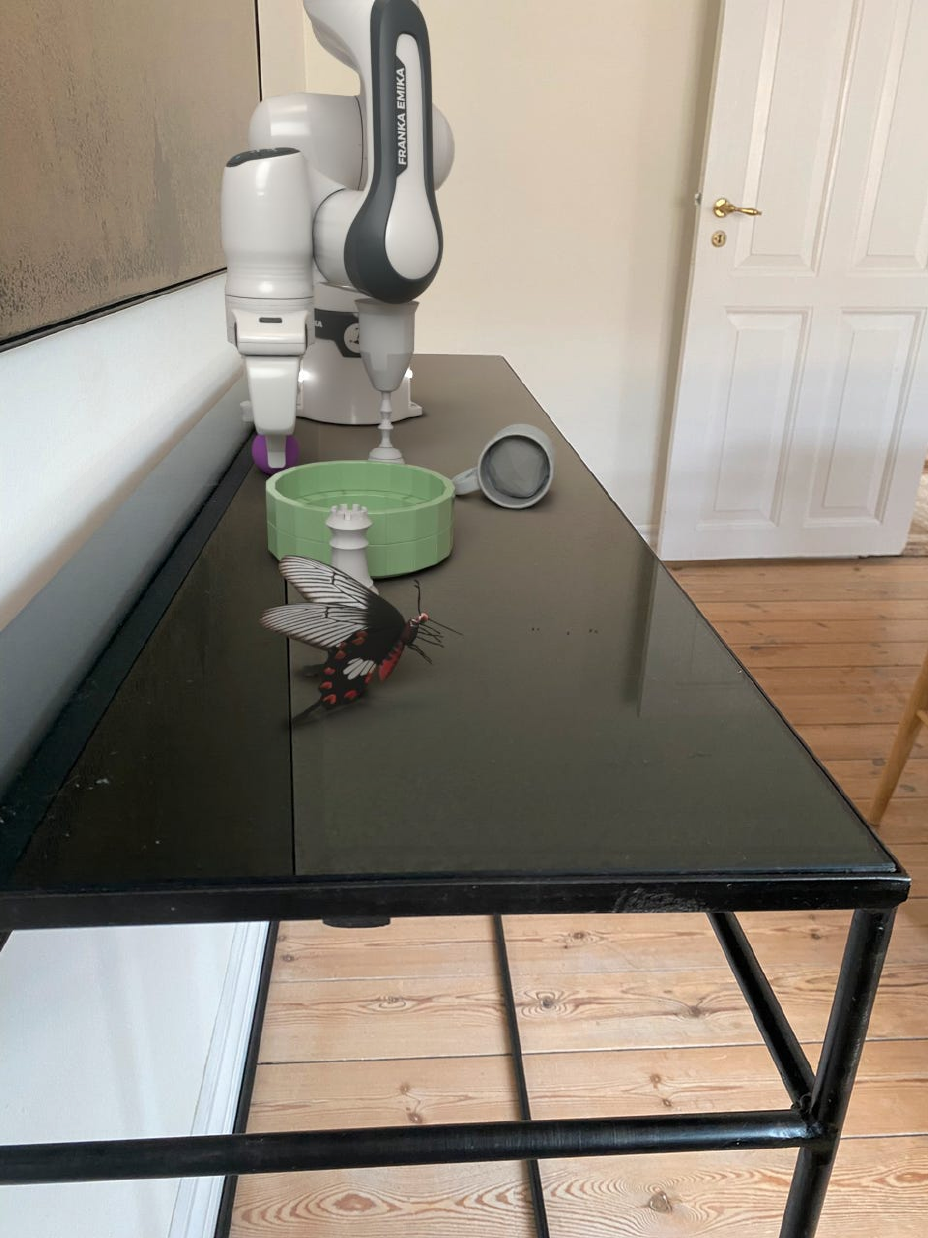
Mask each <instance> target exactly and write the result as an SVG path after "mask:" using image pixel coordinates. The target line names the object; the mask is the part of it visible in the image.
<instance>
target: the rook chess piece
mask: <svg viewBox="0 0 928 1238" xmlns="http://www.w3.org/2000/svg"><path fill="white" fill-rule="evenodd" d="M325 523H326V525H327V526H328V527H329V529H330V530H331V531H332V539H331V540H330V541H329V544H330V545H331V546H332V562H331V566H333V567H335V568H337V569H339V570H341V571H343V572H344V573H346V574H347V575H349V576H350V577H352V578H353V579H355V580H357V581H358V582H360V583H361V584H363V585H364V586H366V587H367V588H369V589H370V590H372V591H373V592H375V593H376V594H377V595H379V596H380V593H379V590H378V589H377V588H376V586H375V585H374V581H373V579H371V578H370V575H369V572H368V565H367V558H366V547H367V546H368V544H369V541H368V540H367V539H366V535H365V534H366V531H367V530H368V529H369V527H370V526H371V525H372V521H371V519H370V518H369V517H368V516H367V508H366V507H361V511H360V505H358V504H353V510H347V504H340V511H338V506H333V507H331V515H330V516H329V517H328V519H327V520H326V522H325Z"/></svg>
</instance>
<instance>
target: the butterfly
mask: <svg viewBox="0 0 928 1238" xmlns="http://www.w3.org/2000/svg"><path fill="white" fill-rule="evenodd" d="M278 569H279V572H280V574H281V575H282V577H283V578H284V579H285V580H286V581H287V582H288V583H289V584H290V585H291V586H292V587H293V588H294V589H295V591H296V592H297V593H298V594H299V595H300V596H301V597H302V598H303V599H304V600H305V601H301V602H291V603H286V604H280V605H276V606H272V607H268V608H266V609H265V610H263V612H262V613H261V615H260V616H259V620H258V622H259V623H260V626H262V627H263V628H265V629H266V630H269V631H272V632H274V633H277V634H280V635H282V636H284V637H286V638H288V639H291V640H293V641H296V642H299V643H301V644H304V645H307V646H309V647H312V648H314V649H318V650H322V651H324V652H327V658H326V660H325V661H324V663H318V664H314V665H313V664H312V665H304V666H303V667H302V674H304V676H305V677H314V676H315V675H317V674H319V676H320V680H321V683H320V685H319V686H318V687H317V690H318V692H319V693H320V694H321V695H320V698H319V699H318V700H317V701H316V702H315V703H313V704H312V705H310V706H309V707H307V708H306V709H304V710H303V711H302V712H301V713H298V714H296V715H295V716H294V717H293V718H291V721H290V724H291V725H292V724H293V725H294V724H297V723H299V722H301V721H302V720H305V719H306V717H308V716H309V714H310V713H312V712H313V711H315V710H317V709H319V708H323V709H325V710H327V711H328V710H331V709H333V708H335V707H337V706H339V705H342V704H343V705H349V704H352V703H354V702H355V701H357V700H359V698H360V695H362V692H363V690H364V689H365V688H366V686H367V685H368V683H369V681H370V680H371V678H372V676H373V674H374V672H375V671H376V670H377V669H378V675H379V680H380V682H384V681H385V680H386V679H387V678H388V677H389V676H390V675H391V674H392V673H393V671H394V670H395V668H396V666H397V665H398V662H400V660H401V657H402V655H403V652H404V650H405V647H407V649H409V650H412V651H416V652H417V653H418V654H419V655H420V656H422V658H423V659H425V660H426V661H427V662H428V663H429V664H430V665H431V666H433V660H431V658H430V657H429V656H427V655H426V653H425V652H424V651H423V650H422V649H421V648H420V647H419V646H418V645H416V644H414V642H415V640H416V639H419V640H421V641H424V642H426V643H428V644H431V645H434V646H439V647H440V648H445V647H444V645H442V640H440V639H439V638H443V639H444V636H443V635H441V634H442V633H441V632H440V631H438V630H436V629H435V628H433V627H431V626H429V625H427V624H426V622H427V621H429V622H432V623H434V624H436V625H438V626H440V627H443V628H445V629H447V630H449V631H452V633H453V632H454V633H456V634H458V635H460V636H464V634H462V633H460V632H459V631H456V630H454V629H452V628H450V627H449V626H445V625H443V624H441V623H440V622H437V621H435V620H433V619H431V618H430V617H428V615H427V613H422V611H421V607H420V606H421V588H420V582H419V580H417V579H413V582H415V583H416V584H414V585H413V586H414V588H416V589H417V590H418V594H417V612H418V615H417V616H414V617H411V618H409V619H408V620H407V621H406V619H405V618H404V616H403V615H402V614H401V612H400V611H399V610H398V609H397V607H395V606H394V605H392V604H391V602H390V601H388V600H386V599H385V598H383V597H382V596H380V594H379V595H377V594H376V593H375V592H373V591H372V590H370V589H369V588H367V587H366V586H364V585H363V584H361V583H360V582H358V581H357V580H355V579H353V578H352V577H350V576H349V575H347V574H346V573H344V572H343V571H341V570H339V569H337V568H335V567H333V566H331V565H329V564H326V563H323V562H321V561H318V560H315V559H311V558H308V557H302V556H295V555H286V556H284V557H282V559H281V561H280V560H279V562H278ZM421 626H423V627H426V628H428V629H430V630H433V631H434V632H435V633H437V634H434V633H431V632H430V631H428V630H427V629H426V628H423V627H421ZM419 629H420V630H422V631H420V630H419ZM418 634H421V635H425V636H430V637H433V638H434V639H435V640H436V641H437V642H438V643H436V642H433V641H431V640H427V639H426V638H424V637H421V636H419V635H418ZM437 637H439V638H437Z"/></svg>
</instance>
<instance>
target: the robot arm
mask: <svg viewBox="0 0 928 1238" xmlns="http://www.w3.org/2000/svg"><path fill="white" fill-rule="evenodd" d="M302 6H303V10H304V11H305V13H306V15H307V17H308V19H309V20H310V23H311V27H312V32H313V35H314V36H315V39H316V40H317V42H318V44H319V45H320V46H321V47H322V48H323V49H324V50H325V51H326V52H327V53H328V54H329V55H331V56H332V57H333V58H334V59H336V60H337V61H339V62H340V63H342V64H343V65H345V66H347V67H348V68H350V69H351V70H352V71H354V72H355V73H356V74H357V75H358V79H359V83H360V84H359V86H360V87H359V93H358V94H357V95H344V94H343V95H341V94H328V93H315V92H301V91H300V92H292V93H284V94H279V95H272V96H267V97H264V98H263V99H262V100H261V101H260V102H259V104H258V105H257V106H256V107H255V109H254V111H253V112H252V114H251V118H250V120H249V124H248V128H247V129H248V130H247V147H248V151H242V152H240V153H237V154H235V155H233V156H232V157H230V158H229V160H228V161H227V162H226V164H225V166H224V168H223V172H222V177H221V186H220V187H221V188H220V241H221V248H222V252H223V255H224V258H225V261H226V262H225V263H226V270H227V271H226V272H227V273H226V281H225V285H224V302H225V303H224V305H225V316H226V317H225V319H226V322H225V323H226V336H227V337H226V338H227V341H228V343H229V344H232V345H233V346H234V347H235V348H236V350H237V353H238V354H239V355H240V358H241V359H242V361H243V363H244V369H245V374H246V380H247V386H248V387H247V388H248V392H249V400H250V401H251V406H252V412H253V418H254V422H253V424H254V423H255V424H254V426H255V427H254V428H255V430H256V433H257V435H258V434H259V435H263V436H265V439H266V445H267V453H268V465H269V467H271V468H283V467H284V466H285V464H286V459H285V447H286V435H292V436H293V434H294V432H295V428H296V422H297V417H303V418H307V419H311V420H314V421H318V422H324V423H331V424H332V423H333V424H342V425H376V424H381V421H382V416H381V413H380V411H379V409H380V408H381V404H382V395H381V392H380V391H378V390H376V389H374V387H373V385H372V383H371V381H370V378H369V376H368V374H367V372H366V369H365V367H364V364H363V361H362V357H361V354H360V351H359V311H358V309H357V307H356V304H355V302H354V300H356V299H364V298H374V299H377V300H380V301H382V302H385V303H389V304H403V303H407V302H409V301H412V300H413V301H415V300H416V299H418V298H419V297H420V296H421V295H423V293H424V292H426V291H427V290H428V288H430V286H431V284H432V283H433V282H434V281H435V278H436V276H437V274H438V273H439V270H440V267H441V263H442V259H443V254H444V233H443V232H444V231H443V225H442V221H441V217H440V213H439V212H440V211H439V207H438V203H437V198H436V197H437V196H436V191H438V190H440V188H441V187H442V186H443V185H444V183H445V182H446V181H447V179H448V178H449V176H450V173H451V172H452V168H453V165H454V161H455V153H456V144H455V143H456V142H455V136H454V132H453V130H452V128H451V125H450V123H449V121H448V119H447V118H446V116H445V115H444V114H443V112H442V111H441V110H440V109H439V108H438V107H437V106H436V105H435V104H434V103H433V78H432V75H433V74H432V73H433V72H432V55H431V43H430V37H429V31H428V30H429V29H428V27H427V26H428V25H427V22H426V19H425V17H424V15H423V13H422V10H421V6H420V2H419V0H302ZM411 378H413V372H412V370H411V363H410V364H409V367H408V370H407V372H406V374H405V376H404V378H403V380H402V382H401V385H400V387H399V389H397V390H395V391H393V392H391V397H390V403H391V408H392V409H393V412H392V413H391V416H390V422H391V423H392V422H397V421H400V420H401V421H402V420H403V419H404V420H405V419H406V418H410V417H412V418H413V417H417V416H422V415H423V407H422V406H421V405H419V404H417V403H415V402H413V401H412V400H411Z"/></svg>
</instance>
